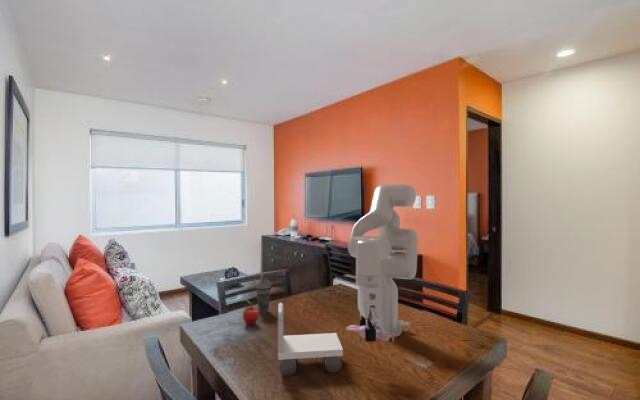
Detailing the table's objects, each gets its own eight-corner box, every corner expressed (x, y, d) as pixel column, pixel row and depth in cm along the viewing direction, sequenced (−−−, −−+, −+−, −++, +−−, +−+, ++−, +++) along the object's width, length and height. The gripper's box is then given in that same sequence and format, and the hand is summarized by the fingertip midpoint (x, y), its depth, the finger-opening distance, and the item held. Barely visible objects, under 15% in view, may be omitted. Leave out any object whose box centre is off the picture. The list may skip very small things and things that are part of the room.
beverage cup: (268, 315, 145) (268, 271, 145) (253, 313, 146) (253, 270, 146) (273, 309, 152) (273, 268, 152) (259, 308, 154) (259, 267, 153)
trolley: (335, 352, 110) (336, 300, 110) (343, 372, 98) (343, 313, 98) (278, 356, 108) (278, 302, 108) (277, 376, 95) (278, 316, 95)
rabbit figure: (391, 340, 102) (345, 330, 104) (394, 322, 102) (348, 312, 104) (393, 349, 96) (344, 338, 98) (396, 330, 96) (348, 319, 97)
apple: (261, 321, 138) (261, 298, 138) (256, 327, 131) (256, 303, 131) (243, 320, 139) (243, 297, 138) (238, 327, 132) (238, 303, 132)
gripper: (388, 286, 91) (388, 348, 91) (371, 272, 108) (371, 325, 108) (363, 287, 90) (363, 350, 90) (350, 273, 107) (349, 326, 107)
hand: (367, 336), depth 99 cm, fingers closed on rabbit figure, 5 cm apart
